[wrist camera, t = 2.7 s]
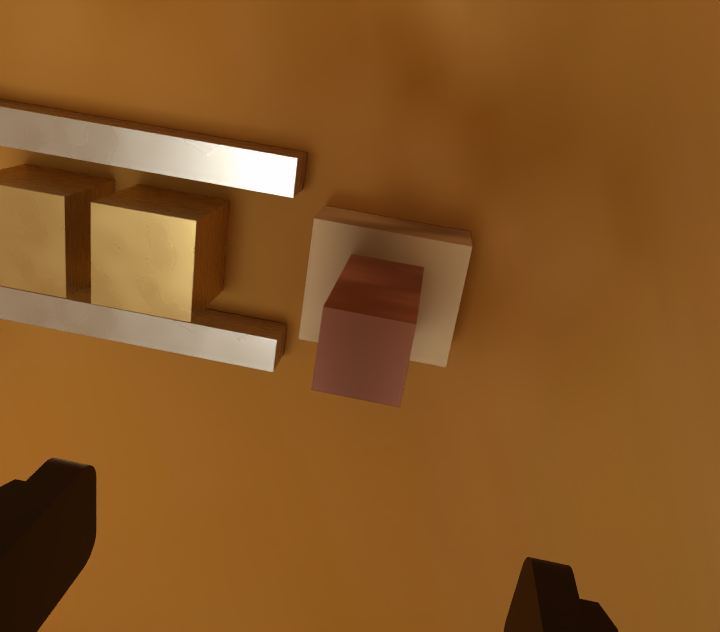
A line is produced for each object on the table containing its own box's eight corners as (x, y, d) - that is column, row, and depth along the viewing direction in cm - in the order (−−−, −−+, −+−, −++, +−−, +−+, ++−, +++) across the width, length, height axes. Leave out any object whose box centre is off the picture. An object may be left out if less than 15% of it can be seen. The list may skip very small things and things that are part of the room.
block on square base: (470, 231, 27) (478, 299, 19) (446, 343, 29) (444, 447, 21) (325, 205, 27) (274, 261, 19) (310, 317, 29) (258, 410, 21)
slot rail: (307, 152, 26) (297, 158, 25) (283, 354, 30) (273, 371, 28) (-24, 95, 27) (-55, 97, 26) (-12, 297, 31) (-38, 310, 29)
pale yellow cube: (230, 200, 28) (196, 221, 24) (223, 289, 29) (190, 322, 25) (138, 184, 28) (90, 202, 24) (136, 273, 29) (91, 303, 26)
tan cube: (115, 179, 28) (64, 196, 24) (114, 269, 29) (66, 298, 26) (26, 163, 28) (-39, 178, 25) (29, 253, 30) (-31, 279, 26)
